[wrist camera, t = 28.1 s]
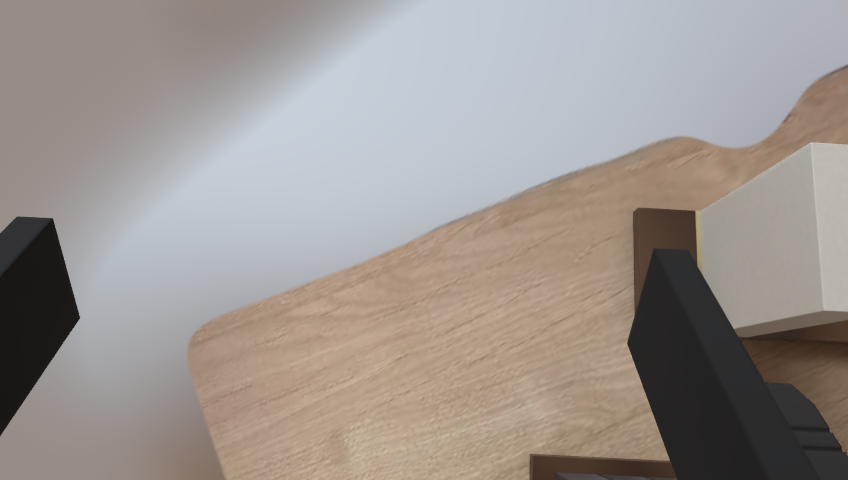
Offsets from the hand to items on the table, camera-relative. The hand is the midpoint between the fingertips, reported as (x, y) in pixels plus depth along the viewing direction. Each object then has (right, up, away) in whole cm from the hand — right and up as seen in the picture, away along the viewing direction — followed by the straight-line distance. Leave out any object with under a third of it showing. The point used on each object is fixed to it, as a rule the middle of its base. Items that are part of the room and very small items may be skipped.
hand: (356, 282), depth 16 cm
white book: (+23, -1, +34) cm, 41 cm away
